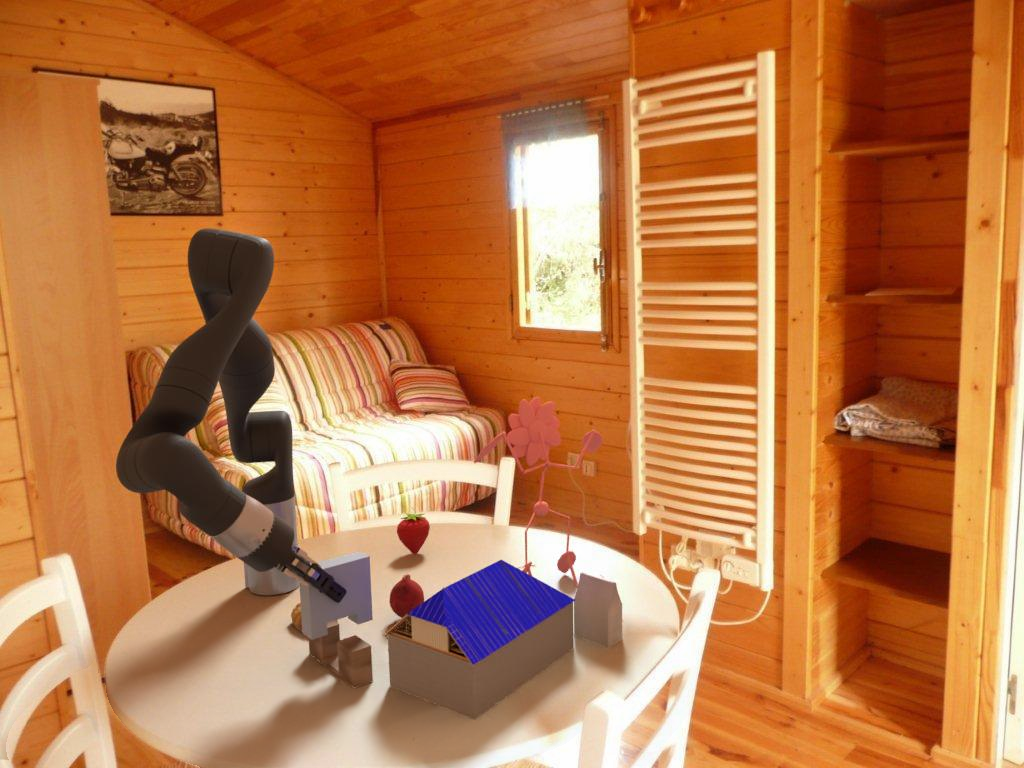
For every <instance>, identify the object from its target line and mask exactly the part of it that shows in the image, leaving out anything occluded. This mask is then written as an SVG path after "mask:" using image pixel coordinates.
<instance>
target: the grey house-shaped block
mask: <svg viewBox="0 0 1024 768" xmlns="http://www.w3.org/2000/svg"><path fill="white" fill-rule="evenodd" d="M577 583H578V585H577V588H576V591H575V596H574V598H573V599H575V600H576V602H574V601H573V636H575V635H576V637H578V638H580V637H581V639H582V640H586V641H588V640H589V642H592V643H595V644H597V645H599V646H603V647H604V648H608V649H609V648H611V647H612V646H614V645H616V644H618V643H619V642H620V641H622V640H623V603H622V600H621V597H620V594H619V591H618V587H617V582H615V581H611V580H608V579H606V578H603V577H602V578H601V577H599V576H595V575H592V574H588V573H585V572H580V575H579V579H578V582H577Z"/></svg>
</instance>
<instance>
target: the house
mask: <svg viewBox="0 0 1024 768" xmlns="http://www.w3.org/2000/svg"><path fill="white" fill-rule="evenodd" d="M574 602H576V600H575V599H574V598H573V597H571V596H569V595H567V594H566V593H564V592H561V591H560V590H558V589H556V588H554V587H552V586H551V585H549V584H547V583H546V582H543V581H542V580H540V579H538V578H536V577H534V576H533V575H532V576H531V575H529V574H528V572H527V573H525V572H523V569H522V570H521V568H518V567H516V566H515V565H512V564H510V563H508V562H507V561H505V560H503V559H500V560H498V561H496V562H493V563H492V564H489V565H488V566H485V567H483V568H481V569H479V570H478V571H475V572H473V573H472V574H469V575H468V576H464V577H463V578H461V579H459V580H458V581H456V582H453V583H451V584H449V585H447V586H445V587H444V586H443V587H442V589H440V590H439V591H438V592H436V593H434V594H432V596H430V597H429V598H427V599H426V600H424V602H423V603H422V604H420V605H419V606H417V607H416V608H415V609H413V610H412V611H410V612H409V613H408V614H406V615H405V616H404V617H403V618H401V619H400V620H399V621H397V622H396V623H395V624H394V625H393V626H392V627H391V628H389V630H387V631H386V632H385V633H384V636H386V635H387V647H388V668H389V669H388V671H389V687H391V688H394V689H397V690H399V691H402V692H404V693H407V694H409V695H410V696H411V695H412V696H413V697H417V698H419V699H421V700H424V701H427V702H428V703H431V704H434V705H436V706H438V707H441V708H443V709H447V710H449V711H452V712H454V713H456V714H458V715H461V716H463V717H465V718H468V719H471V720H476V719H478V718H479V717H480V716H482V715H484V714H485V713H486V712H487V711H489V710H490V709H492V708H493V707H495V706H497V704H498V703H500V702H501V701H503V700H504V699H506V698H507V697H508V696H510V695H511V694H512V693H514V692H516V691H517V690H518V689H519V688H521V687H523V686H524V685H525V684H527V683H528V682H529V681H531V680H532V679H534V678H535V677H536V676H537V675H539V674H540V673H542V672H543V671H544V670H546V669H548V668H549V667H550V666H552V665H553V664H555V663H556V662H557V661H559V659H561V658H562V657H564V656H565V655H567V654H568V653H570V652H571V651H572V650H574V649H575V648H574Z"/></svg>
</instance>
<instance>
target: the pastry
mask: <svg viewBox="0 0 1024 768" xmlns="http://www.w3.org/2000/svg"><path fill="white" fill-rule="evenodd" d="M290 617H291V623H292V625H293V626H294V627H295V628H296V629H297V630H298V631H300V632H302V618H301V601H300V602H299V603H297V604H296V605H295V606H294V608H293V609H292V612H291V614H290ZM335 622H337V623H338V624H339V619H338V620H335Z"/></svg>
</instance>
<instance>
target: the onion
mask: <svg viewBox="0 0 1024 768" xmlns="http://www.w3.org/2000/svg"><path fill="white" fill-rule="evenodd" d="M423 602H425V594H424V590H423V587H422V586H421V585H420V584H419V583H418V582H417V581H415V580H413V579H411V574H409V573H405V574H404V575H403V576H402V578H401V580H400V581H398V582H397V583H396V584H394V586H393V587H392V588H391V590H390V593H389V606H390V609H391V610H392V612H394V614H395V615H396V616H397V617H399V618H401V619H402V618H403V617H404V616H405V615H406V614H408V613H409V612H410V611H412V610H413V609H415V608H416V607H417V606H419V605H420V604H422V603H423Z"/></svg>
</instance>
